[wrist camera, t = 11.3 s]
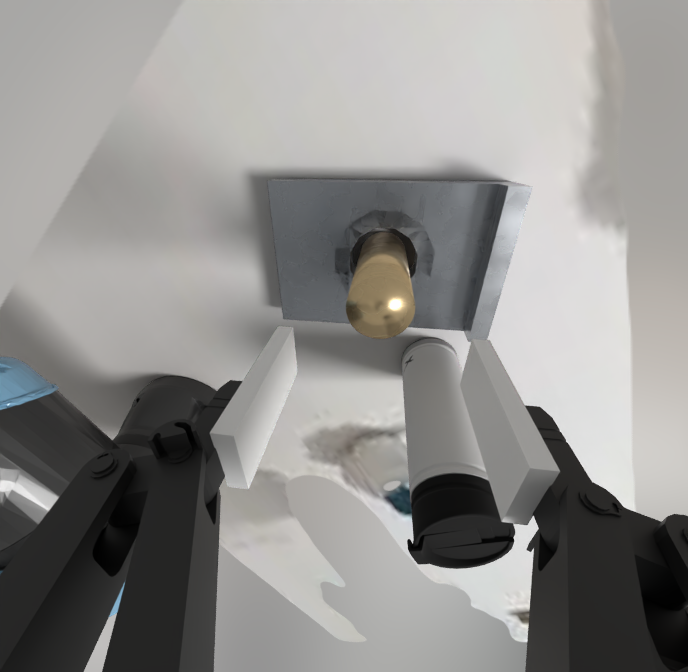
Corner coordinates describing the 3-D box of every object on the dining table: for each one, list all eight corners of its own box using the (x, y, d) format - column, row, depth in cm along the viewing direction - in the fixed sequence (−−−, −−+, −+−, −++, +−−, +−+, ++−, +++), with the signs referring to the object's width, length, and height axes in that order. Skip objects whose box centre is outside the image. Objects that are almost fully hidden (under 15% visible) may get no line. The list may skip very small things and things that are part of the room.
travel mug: (391, 347, 35) (393, 532, 18) (448, 330, 33) (514, 522, 16) (408, 386, 37) (424, 580, 20) (462, 373, 35) (531, 576, 18)
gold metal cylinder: (359, 275, 31) (345, 336, 20) (361, 231, 28) (345, 274, 18) (403, 277, 30) (410, 341, 20) (408, 232, 28) (419, 278, 18)
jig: (290, 308, 34) (277, 328, 30) (276, 178, 27) (258, 182, 23) (474, 319, 32) (486, 342, 28) (510, 181, 25) (532, 186, 21)
